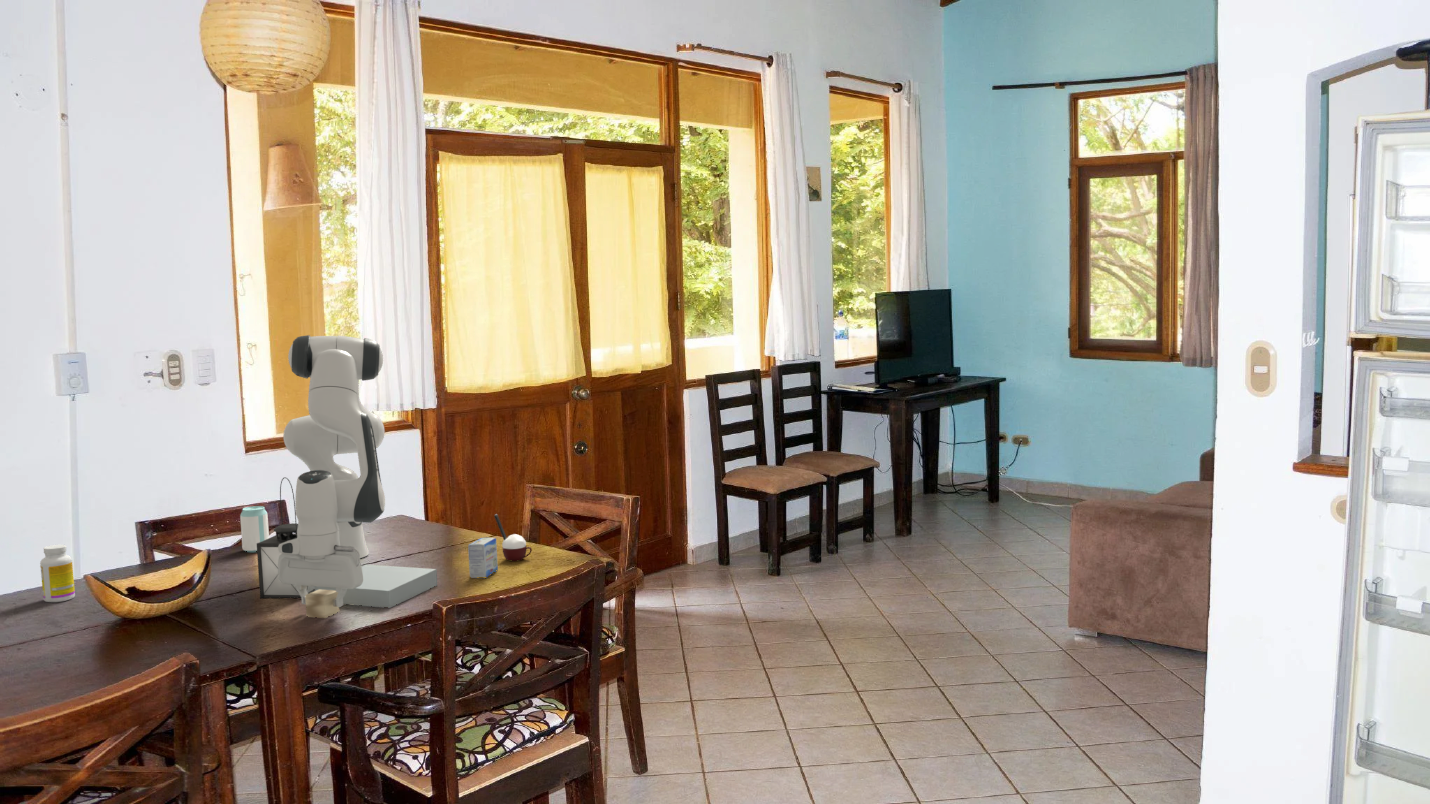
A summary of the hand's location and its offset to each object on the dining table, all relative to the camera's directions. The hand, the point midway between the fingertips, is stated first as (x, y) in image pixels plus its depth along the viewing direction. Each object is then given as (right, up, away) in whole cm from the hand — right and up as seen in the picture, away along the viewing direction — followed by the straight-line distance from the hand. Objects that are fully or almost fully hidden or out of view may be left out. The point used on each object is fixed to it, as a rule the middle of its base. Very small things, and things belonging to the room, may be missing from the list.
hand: (322, 605), depth 258 cm
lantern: (-14, -1, +19) cm, 24 cm away
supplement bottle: (-69, -2, +18) cm, 71 cm away
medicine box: (+30, +2, +32) cm, 44 cm away
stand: (+8, 0, +17) cm, 18 cm away
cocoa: (+35, +3, +47) cm, 59 cm away
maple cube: (0, -2, 0) cm, 2 cm away
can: (-41, +4, +65) cm, 77 cm away
